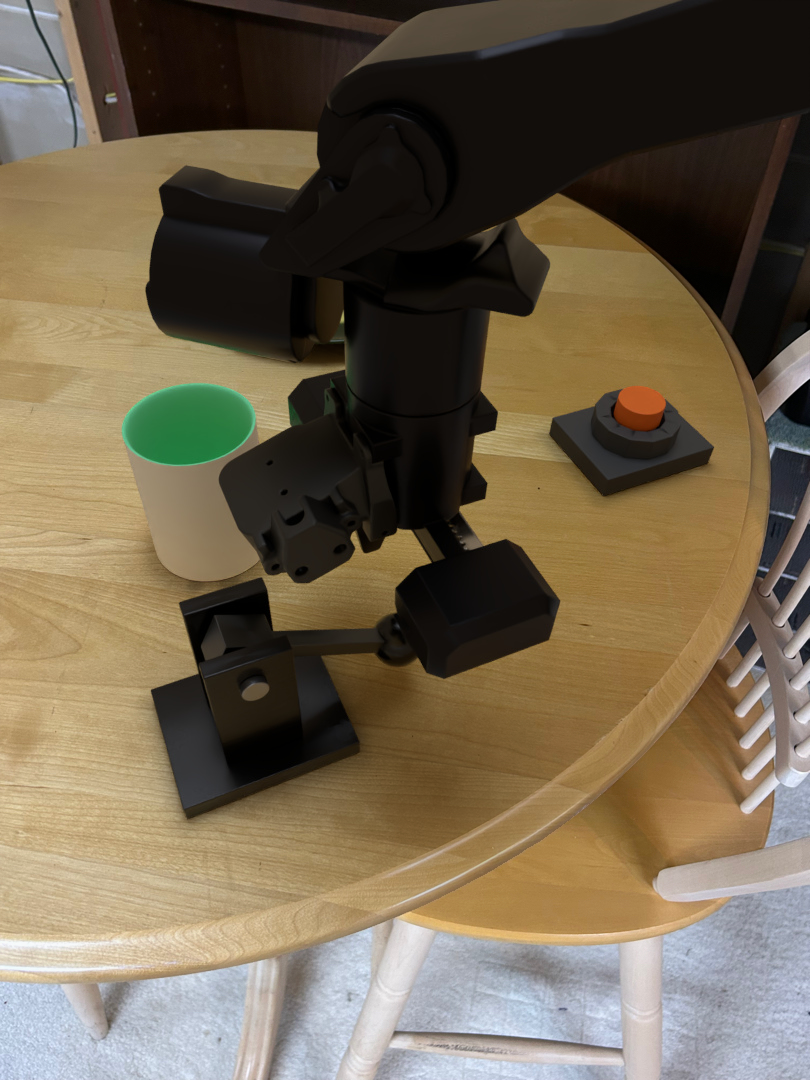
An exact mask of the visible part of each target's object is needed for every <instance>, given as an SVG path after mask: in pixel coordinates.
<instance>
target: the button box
mask: <svg viewBox="0 0 810 1080" xmlns="http://www.w3.org/2000/svg"><path fill="white" fill-rule="evenodd" d="M623 389H624V388H620V389H616V390H612V391H609V392H606V393H604V394H603V395H602V396H601V397H600V398H599V399H598V400H597V401H596V402H595V404H594V406H590V407H586V408H583V409H579V410H576V411H572V412H568V413H564V414H561V415H558V416H553V417H552V418H551V423H550V428H549V435H550V437H551V438H552V439H553V440H554V441H555V442H556V444H557V445H558V446H559V447H560V449H562V450H563V451H564V452H565V454H566V455H567V456H568V457H569V458H570V460H572V462H573V463H574V464H575V466H577V468H578V469H579V470H580V471H581V472H582V473H583V474H584V475H585V476H586V478H587V479H588V480H589V482H591V484H592V485H593V486H594V487H595V488H596V490H598V491H599V493H600V494H601V495H602V497H603V496H607V495H611V494H614V493H618V492H621V491H624V490H627V489H630V488H634V487H636V486H640V485H644V484H646V483H649V482H653V481H656V480H658V479H662V478H665V477H668V476H671V475H674V474H677V473H681V472H684V471H688V470H691V469H693V468H697V467H699V466H703V465H706V464H709V461H710V460H711V457H712V454H713V452H714V449H715V446H714V445H713V444H712V443H711V442H710V441H709V440H707V438H705V436H703V434H701V433H700V432H699V431H698V429H696V428H695V427H694V426H693V425H691V423H690V422H688V420H686V418H684V417H683V416H682V415H681V414H680V413H679V410H678V409H677V408H676V407H674V405H672V403H670V401H668V400H667V399H666V398H664V399H665V401H666V406H665V409H664V412H663V415H662V418H661V421H660V424H659V426H658V427H657V428H655V429H654V430H651V431H648V432H644V431H633V430H631V429H629V428H626V427H624V426H622V425H620V424H619V423H618V422H617V421H616V420H615V418H614V410H615V406H616V403H617V399H618V395H619V393H620V392H621V391H622V390H623Z"/></svg>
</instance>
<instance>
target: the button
mask: <svg viewBox="0 0 810 1080" xmlns="http://www.w3.org/2000/svg"><path fill="white" fill-rule="evenodd" d="M622 389H623V390H622V391H621V392H620V393H619V395H618V399H617V403H616V406H615V410H614V418H615V420H616V421H617V422H618V423H619V424H620V425H622V426H624V427H626V428H629V429H631V430H633V431H644V432H648V431H651V430H654V429H655V428H657V427H658V426H659V424H660V421H661V418H662V415H663V412H664V409H665V406H666V401H665V399H666V398H665V397H664V395H663V394H661V393H660V392H659V391H657V390H655V389H653V388H651V387H648V386H643V385H630V386H627V387H625V388H622Z"/></svg>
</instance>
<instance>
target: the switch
mask: <svg viewBox="0 0 810 1080" xmlns="http://www.w3.org/2000/svg"><path fill="white" fill-rule="evenodd" d="M178 606H179V610H180V613H181V616H182V620H183V624H184V628H185V631H186V636H187V638H188V642H189V645H190V648H191V653H192V657H193V659H194V660H193V661H194V663H195V666H196V670H197V673H196V674H193V675H190V676H187V677H184V678H181V679H178V680H175V681H172V682H169V683H166V684H163V685H160V686H158V687H157V686H156V687H155V688H151V689H150V694H151V697H152V700H153V701H152V702H153V705H154V708H155V712H156V716H157V718H158V719H157V720H158V723H159V727H160V731H161V734H162V738H163V741H164V746H165V748H166V752H167V756H168V760H169V763H170V767H171V771H172V774H173V778H174V782H175V786H176V789H177V793H178V797H179V800H180V804H181V808H182V811H183V813H184V815H185V818H186V820H189V819H191V818H194V817H197V816H199V815H202V814H204V813H207V812H209V811H212V810H214V809H218V808H220V807H222V806H225V805H228V804H230V803H232V802H235V801H237V800H240V799H242V798H245V797H248V796H250V795H254V794H256V793H259V792H261V791H263V790H267V789H269V788H271V787H274V786H276V785H279V784H281V783H284V782H287V781H289V780H292V779H293V778H297V777H299V776H303V775H304V774H307V773H310V772H312V771H315V770H318V769H320V768H322V767H325V766H328V765H331V764H333V763H336V762H338V761H341V760H344V759H347V758H348V757H351V756H354V755H356V754H359V753H361V742H360V739H359V737H358V735H357V733H356V730H355V728H354V725H353V723H352V720H351V719H350V717H349V714H348V713H347V712H348V711H346V707H345V706H344V704H343V701H342V699H341V697H340V695H339V692H338V691H337V688H336V686H335V683H334V681H333V680H332V677H331V675H330V672H329V670H328V668H327V666H326V663H325V662H324V660H323V656H307V657H294V656H293V648H292V646H291V644H290V641H289V639H288V636H287V635H286V634H285V635H282V636H279V637H276V638H273V639H270V640H267V641H264V642H261V643H258V644H255V645H252V646H249V647H246V648H243V649H240V650H236V651H233V652H230V653H227V654H224V655H221V656H218V657H215V658H212V659H209V660H205V657H204V654H203V651H202V648H201V645H202V642H203V640H204V638H205V635H206V633H207V631H208V628H209V626H210V624H211V621H212V619H213V617H214V615H241V614H264V615H265V617H266V619H267V621H268V624H269V626H270V629H271V631H275V630H274V624H273V618H272V612H271V604H270V597H269V591H268V588H267V586H266V583H265V580H264V577H262V576H260V577H257V578H253V579H250V580H247V581H243V582H240V583H236V584H233V585H230V586H227V587H224V588H220V589H217V590H214V591H210V592H208V593H204V594H201V595H197V596H194V597H190V598H188V599H185V600H181V601H179V602H178Z"/></svg>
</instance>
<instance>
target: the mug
mask: <svg viewBox="0 0 810 1080" xmlns="http://www.w3.org/2000/svg"><path fill="white" fill-rule="evenodd" d="M121 437H122V440H123V444H124V447H125V450H126V453H127V457H128V461H129V464H130V467H131V470H132V474H133V477H134V481H135V485H136V488H137V492H138V495H139V498H140V502H141V505H142V508H143V512H144V516H145V519H146V522H147V526H148V530H149V533H150V536H151V540H152V543H153V547H154V550H155V553H156V556H157V558H158V560H159V562H160V563H161V564H162V566H163V567H164V568H165V569H166V570H168V571H169V572H170V573H171V574H173V575H176V576H177V577H180V578H182V579H185V580H189V581H195V582H217V581H222V580H226V579H230V578H233V577H236V576H239V575H241V574H243V573H245V572H246V571H249V570H250V569H251V568H253V567H254V566H255V565H256V564H257V563H259V562H260V559H259V556H258V554H257V552H256V550H255V549H254V548H253V547H252V545H251V544H250V543H249V542H248V541H247V539H246V538H245V537H244V536H243V534H242V533H241V532H240V531H239V529H238V527H237V525H236V523H235V520H234V518H233V516H232V513H231V511H230V508H229V506H228V504H227V501H226V499H225V497H224V494H223V492H222V490H221V487H220V484H219V474H220V472H221V470H222V469H223V467H224V466H225V465H226V464H227V463H228V462H230V461H231V460H233V459H234V458H236V457H238V456H239V455H241V454H243V453H245V452H247V451H248V450H250V449H252V448H254V447H255V446H257V445H259V444H260V438H259V431H258V424H257V416H256V411H255V408H254V406H253V405H252V403H251V402H250V400H249V399H248V398H246V397H245V396H244V395H243V394H241V393H240V392H238V391H236V390H234V389H232V388H229V387H227V386H223V385H219V384H215V383H206V382H190V383H181V384H175V385H171V386H168V387H165V388H162V389H159V390H156V391H154V392H152V393H150V394H147V395H146V396H144V397H143V398H142V399H140V400H139V401H138V402H136V403H135V404H134V405H133V406H132V407H131V408H129V411H128V412H127V413H126V414H125V416H124V419H123V421H122V424H121Z"/></svg>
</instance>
